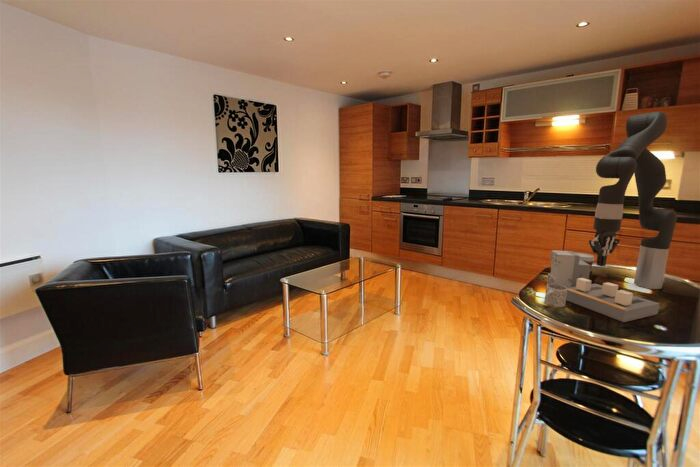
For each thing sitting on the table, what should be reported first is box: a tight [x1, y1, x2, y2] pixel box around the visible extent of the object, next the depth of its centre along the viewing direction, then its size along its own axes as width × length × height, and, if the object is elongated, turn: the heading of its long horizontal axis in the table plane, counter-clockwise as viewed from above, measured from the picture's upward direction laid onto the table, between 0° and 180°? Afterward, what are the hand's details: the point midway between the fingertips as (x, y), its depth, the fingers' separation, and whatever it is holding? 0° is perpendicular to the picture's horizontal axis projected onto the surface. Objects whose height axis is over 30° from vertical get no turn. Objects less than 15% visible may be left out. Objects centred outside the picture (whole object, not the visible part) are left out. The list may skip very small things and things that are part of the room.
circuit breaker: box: [546, 249, 593, 288], centre depth 145 cm, size 8×14×15 cm, turn 78°
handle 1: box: [575, 278, 592, 292], centre depth 131 cm, size 3×4×4 cm
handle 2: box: [614, 289, 634, 306], centre depth 118 cm, size 3×4×4 cm
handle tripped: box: [601, 281, 619, 297], centre depth 126 cm, size 3×4×4 cm
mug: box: [544, 284, 567, 308], centre depth 127 cm, size 10×7×7 cm, turn 121°
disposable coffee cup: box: [575, 252, 596, 271], centre depth 154 cm, size 10×10×12 cm
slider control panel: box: [566, 283, 661, 323], centre depth 127 cm, size 18×22×4 cm
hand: (600, 265), depth 122 cm, fingers closed
